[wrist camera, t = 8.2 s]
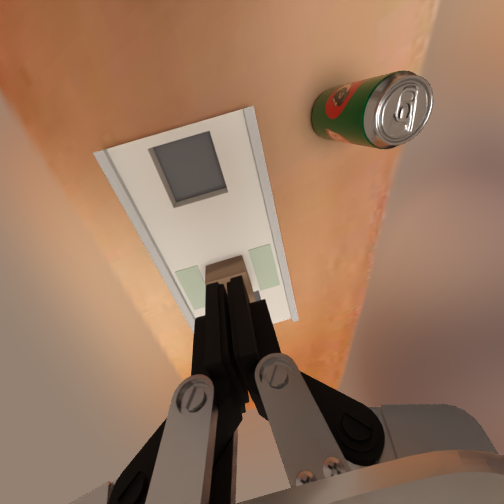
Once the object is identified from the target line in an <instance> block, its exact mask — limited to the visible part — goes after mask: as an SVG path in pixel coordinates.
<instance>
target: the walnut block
mask: <svg viewBox="0 0 504 504" xmlns="http://www.w3.org/2000/svg"><path fill="white" fill-rule="evenodd" d="M240 275H242V277H243V280H244V283H245V287H246V290H247V293H248V297H249V300H250V303H252V302H255V296H254V292H253V288H252V284H251V281H250V278H249V275H248V272H247V269H246V266H245V263H244V260H243V257H242V255H239V256H236V257H233V258H229V259H226V260H223V261H219V262H216V263H213V264H209V265H206V270H205V285H207V284H211V283H214V282H218V283H219V284H224V286H225V289H226V292H227V282H230V278H233V277H237V276H240ZM227 295H228V294H227Z"/></svg>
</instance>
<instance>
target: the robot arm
mask: <svg viewBox="0 0 504 504" xmlns="http://www.w3.org/2000/svg"><path fill="white" fill-rule="evenodd" d="M227 294H228V295H227ZM248 391H249V393H250V396H251V398H252V400H253V401H254V403H255V406H256V408H257V410H258V413H259V414H260V415H261V416H262V417H264V418H265V419H266V420H268V421H269V423H270V426H271V428H272V432H273V435H274V438H275V441H276V444H277V447H278V450H279V453H280V456H281V459H282V462H283V464H284V468H285V471H286V474H287V477H288V480H289V483H290V485H291V488H289V489H286V490H282V491H279V492H275V493H272V494H268V495H265V496H261V497H258V498H254V499H251V500H247V501H244V502H240V503H237V504H504V455H501V454H498V452H497V451H496V449H495V447H494V446H493V444H492V443H491V441H490V439H489V437H488V436H487V434H486V432H485V431H484V429H483V428H482V426H481V425H480V424H479V423H478V421H477V420H476V419H475V418H474V417H473V416H471V415H470V414H469V413H467V412H466V411H465V410H463V409H460V408H458V407H456V406H453V405H447V404H395V405H394V404H387V405H380V407H367V406H365V405H364V404H362V403H360V402H358V401H356V400H354V399H352V398H350V397H348V396H346V395H345V394H343V393H341V392H339V391H337V390H335V389H333V388H331V387H329V386H327V385H325V384H323V383H322V382H320V381H318V380H316V379H314V378H312V377H310V376H308V375H306V374H304V373H302V372H300V371H299V369H298V367H297V365H296V364H295V362H294V361H293V359H292V358H290V357H289V356H287V355H285V354H282V353H281V351H280V348H279V344H278V341H277V337H276V334H275V330H274V327H273V324H272V320H271V317H270V313H269V310H268V307H267V303H266V300H265V299H263V300H259V301H255V302H252V303H250V300H249V297H248V293H247V290H246V287H245V283H244V280H243V277H242V275H240V276H237V277H233V278H230V282H227V292H226V289H225V286H224V284H219V283H218V282H214V283H211V284H207V285H206V293H205V315H204V316H200V317H197V318H196V319H195V325H194V340H193V356H192V371H191V376H190V377H188V378H187V379H185V380H184V381H183V382H182V383H181V384H180V385H179V386H178V387H177V389H176V390H175V392H174V395H173V397H172V400H171V405H170V408H169V412H168V416H167V418H166V420H165V421H164V422H163V423H162V424H161V426H160V427H159V428H158V429H157V430H156V432H155V433H154V434H153V435H152V437H151V438H150V439H149V440H148V442H147V443H146V444H145V445H144V446H143V448H142V449H141V450H140V451H139V453H138V454H137V455H136V456H135V458H134V459H133V460H132V461H131V462H130V464H129V465H128V466H127V467H126V469H125V470H124V471H123V472H122V474H121V475H120V477H119V478H118V479H117V480H116V481H114V482H112V483H111V482H109V481H108V482H107V483H105V484H103V485H101V486H99V487H98V488H96V489H94V490H92V491H91V492H89V493H87V494H85V495H84V496H82V497H80V498H78V499H77V500H75V501H73V502H71V503H69V504H235V502H236V500H235V499H236V474H237V444H238V430H237V427H238V426H239V424H240V422H241V421H242V413H245V412H246V410H245V403H248V402H249V395H248Z"/></svg>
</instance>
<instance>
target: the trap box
mask: <svg viewBox="0 0 504 504" xmlns="http://www.w3.org/2000/svg"><path fill="white" fill-rule="evenodd" d="M93 154H94V156H95V158H96V160H97V161H98V163H99V165H100V167H101V169H102V170H103V172H104V174H105V176H106V177H107V179H108V181H109V183H110V185H111V186H112V188H113V190H114V192H115V194H116V195H117V197H118V199H119V201H120V203H121V204H122V206H123V208H124V210H125V211H126V213H127V215H128V217H129V219H130V220H131V222H132V224H133V226H134V228H135V229H136V231H137V233H138V235H139V237H140V238H141V240H142V242H143V244H144V245H145V247H146V249H147V251H148V253H149V254H150V256H151V258H152V260H153V262H154V263H155V265H156V267H157V269H158V271H159V272H160V274H161V276H162V278H163V279H164V281H165V283H166V285H167V287H168V288H169V290H170V292H171V294H172V296H173V297H174V299H175V301H176V303H177V305H178V306H179V308H180V310H181V312H182V313H183V315H184V317H185V319H186V321H187V322H188V324H189V326H190V328H191V330H192V331H193V333H194V325H195V319H196V318H197V317H200V316H204V315H205V293H206V285H205V270H206V265H209V264H213V263H216V262H219V261H223V260H226V259H229V258H233V257H236V256H239V255H242V257H243V260H244V263H245V266H246V269H247V272H248V275H249V278H250V281H251V284H252V288H253V292H254V296H255V301H259V300H263V299H265V300H266V303H267V307H268V310H269V313H270V317H271V320H272V324H274V323H277V322H281V321H284V320H288V319H292V321H293V322H295V321H298V320H299V319H298V314H297V309H296V304H295V300H294V295H293V290H292V285H291V281H290V276H289V271H288V266H287V262H286V257H285V252H284V248H283V243H282V238H281V233H280V229H279V224H278V219H277V214H276V210H275V205H274V200H273V195H272V191H271V186H270V181H269V176H268V172H267V167H266V162H265V157H264V153H263V148H262V143H261V138H260V134H259V129H258V124H257V120H256V115H255V110H254V106H251V107H247V108H244V109H241V110H237V111H234V112H230V113H227V114H224V115H220V116H217V117H213V118H210V119H206V120H203V121H200V122H196V123H193V124H189V125H186V126H183V127H179V128H176V129H172V130H169V131H166V132H162V133H159V134H155V135H152V136H149V137H145V138H142V139H138V140H135V141H132V142H128V143H125V144H121V145H118V146H115V147H111V148H108V149H104V150H101V151H98V152H94V153H93Z"/></svg>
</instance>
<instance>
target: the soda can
mask: <svg viewBox="0 0 504 504" xmlns="http://www.w3.org/2000/svg"><path fill="white" fill-rule="evenodd" d="M432 106H433V92H432V89H431V86H430V84H429V83H428V81H427V80H426V79H424V78H423V77H421V76H418V75H416V74H415V73H413V72H410V71H397V72H393V73H389V74H385V75H381V76H377V77H373V78H370V79H366V80H362V81H358V82H354V83H350V84H346V85H342V86H338V87H334V88H331V89H328V90H326V91H325V92H324V93H322V94H321V95H320V97H319V98H318V99H317V101H316V103H315V105H314V107H313V111H312V124H313V128H314V130H315V131H316V133H317V134H318V135H319V136H320V137H322V138H324V139H328V140H334V141H339V142H345V143H350V144H356V145H361V146H367V147H372V148H378V149H391V148H394V147H396V146H399V145H401V144H404V143H406V142H408V141H410V140H411V139H413V138H414V137H415V136H416V135H418V134H419V132H420V131H421V130H422V129H423V128H424V126H425V124H426V123H427V121H428V119H429V116H430V114H431V111H432Z"/></svg>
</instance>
